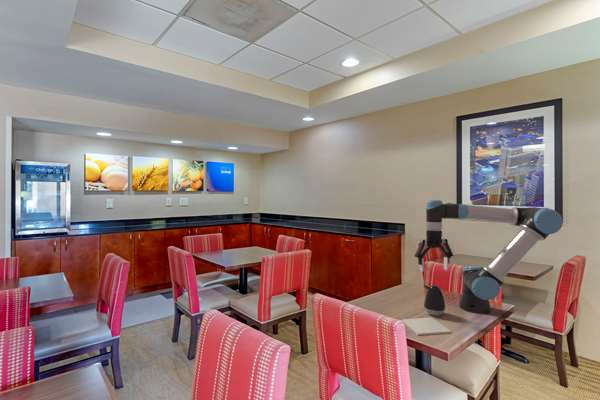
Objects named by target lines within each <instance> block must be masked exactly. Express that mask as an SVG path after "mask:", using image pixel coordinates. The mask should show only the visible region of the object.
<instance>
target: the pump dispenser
mask: <svg viewBox="0 0 600 400" xmlns="http://www.w3.org/2000/svg"><path fill="white" fill-rule="evenodd" d="M423 287H424V288H425V289H427V291H426V293H425V296H424V301H423V307H424V309H425V311H426V313H427V314H428V315H430V316H433V317H439V316H442V315H443V314H444V312H445V310H446V304H445V303H446V302H445V298H444V295H443V292H442V290H441V288H440V286H438V285H435V284H432V285H430V286H428V285H426V284H424V285H423Z"/></svg>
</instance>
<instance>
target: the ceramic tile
mask: <svg viewBox="0 0 600 400" xmlns="http://www.w3.org/2000/svg"><path fill="white" fill-rule="evenodd" d="M402 321H404V323H405V324H404V323H403V324H404V325H405V326H407V328H409V329H410V330H411V331H412V332H413V333H414V334H416V336H428V335H441V334H451V333H452V331H451V330H450V329H448V327H446V326H444V325H443V324H441V323H440V322H439V321H437V320H436V319H434V317H422V318H421V317H420V318H419V317H418V318H405V319H401V322H402Z"/></svg>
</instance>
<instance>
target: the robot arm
mask: <svg viewBox="0 0 600 400" xmlns="http://www.w3.org/2000/svg"><path fill="white" fill-rule="evenodd" d="M425 210H426V211H425V212H426V223H425V224H426V225H425V226H426V229H427V230H426V231H425V232H426V233H425V234H426V239H423V238H421V239H420V243H419V246H418V247H417V249H416V252H415V253H414V257H415V258H417V260H418V261H417V262H418V265H419V271H420V272H422V273H423V272H425V268H424V267H425V261H424V260H425V259H424V258H423V257H425V255H426V254H427V253H428V252H429V250H430V249H434V248H435V249H437V248H438V249H439V250H440V252H441V253H442V254H443V270H444V271H449V264H450V263H451V262H450V259H451V258H452V257H454V253H453V251H452V249H451V247H450V245H449V242H448V239H447V238H444V237H443V231H442V230H443V219H444V220H446V219H448V220H450V219H454V220H462V219H464V220H465V219H466V220H469V219H470V220H478V221H486V222H495V223H497V222H498V223H505V224H506V223H507V224H509V225H512V226H514V227H515V226H517V227H520V228H519V231H518V232H517V233H516V234H515V235H514V236H513V237H512V238H511V240H510V241H509V242H507V244H506V245H505V246H504V247H503V248H502V249H501V250H500V252H499V253H498V254H496V256H495V257H494V258H493V259H491V261H490V263H488V265H484V266H483V265H482V266H479V265H478V266H477V265H465V266H463V267H462V271H461V272H462V294H461V296H460V299H459V302H458V306H459V308H460V309H461V310H464V311H467V312H470V313H475V314H488V313H490V312H491V311H492V310H491V304H490V300H494V299H496V297H498V296H499V294H500V291H501V288H500V287H502V286H503V284H504V283H505V280H504V278H505V277H506V276H507V275H508V274H509V273H510V272H511V270H512V269H513V268H515V266H517V264H518V263H519V262H520V261H521V260H522V259H523V258H524V257H525V256H526V254H528V252H530V250H531V249H532V248H533V247H534V246H535V245H536V244H537V243H538V242H540V241H545V240H546V238H548V237H549V235H553V234H555V233H556V234H557V233H558V232H559V231H561V229H562V227H563V224H564V221H563V216H562V215H561V214H560V213H559V212H558V211H556V210H554V209H552V208H549V207H536V206H535V207H534V206H533V207H512V208H505V207H495V206H482V205H471V204H465V203H451V202H447V203H443V201H442V200H440V199H438V200H437V199H436V200H435V199H434V200H433V199H431V200H430V199H429V200H427V202H426V209H425ZM425 244H426V245H425ZM442 244H443V245H442Z"/></svg>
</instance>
